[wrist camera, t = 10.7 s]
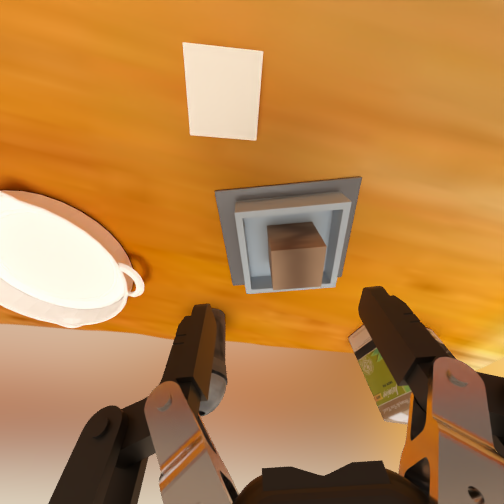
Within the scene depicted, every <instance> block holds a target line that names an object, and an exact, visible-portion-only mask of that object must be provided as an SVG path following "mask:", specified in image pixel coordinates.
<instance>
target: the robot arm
mask: <svg viewBox="0 0 504 504" xmlns="http://www.w3.org/2000/svg"><path fill="white" fill-rule="evenodd" d="M358 311H359V315H360V318H361V320H362V322H363V324H364V326H365V327H366V329H367V331H368V333H369V335H370V336H371V338H372V340H373V342H374V344H375V345H376V347H377V349H378V351H379V353H380V354H381V356H382V358H383V360H384V362H385V364H386V365H387V367H388V369H389V371H390V373H391V374H392V376H393V378H394V380H395V382H396V383H397V385H398V386H407V385H408V386H409V388H410V390H411V391H412V393H411V396H410V406H409V416H408V427H407V436H406V442H405V446H404V449H403V451H402V455H401V459H400V465H399V474H397V473H395V472H393V471H391V470H388V469H385V467H384V464H383V462H382V461H367V462H352V463H350V464H348V465H346V466H344V467H342V468H340V469H338V470H336V471H334V472H332V473H330V474H328V475H325V476H321V475H317V474H314V473H311V472H307V471H304V470H300V469H297V468H294V467H276V468H262V475H261V476H259V477H257V478H255V479H254V480H253V481H251V482H250V483H249V484H248V485H247V486H246V487H245V488H244V489H243V490H242V492H241V493H240V494H239V493H238V491H237V489H236V487H235V484H234V482H233V480H232V478H231V476H230V474H229V472H228V470H227V468H226V466H225V465H224V463H223V461H222V460H221V458H220V456H219V454H218V452H217V450H216V448H215V446H214V444H213V442H212V440H211V438H210V436H209V433H208V431H207V430H206V427H205V425H204V423H203V421H202V419H201V417H200V415H199V408H200V401H208V395H209V387H210V380H211V372H212V364H213V357H214V349H215V341H216V333H217V325H216V320H215V317H214V314H213V312H212V309H211V306H210V304H199V305H194V307H193V311H192V315H191V316H185V317H184V319H183V320H182V321H181V323H180V324H179V326H178V329H177V332H176V337H175V339H174V342H173V346H172V349H171V352H170V355H169V358H168V361H167V365H166V368H165V371H164V374H163V378H162V380H161V382H160V384H159V385H158V386H157V387H156V388H155V389H154V390H153V391H152V392H151V393H150V395H149V396H148V397H146V398H145V399H143V400H141V401H139V402H136V403H134V404H132V405H130V406H128V407H125V408H123V409H120V408H118V407H117V406H107V407H105V408H103V409H101V410H99V411H98V412H97V413H96V414H94V415H93V416H92V417H91V419H90V420H89V421H88V422H87V424H86V425H85V427H84V429H83V431H82V432H81V435H80V437H79V439H78V441H77V443H76V446H75V448H74V450H73V452H72V454H71V456H70V458H69V460H68V463H67V465H66V467H65V469H64V471H63V473H62V475H61V478H60V480H59V482H58V484H57V486H56V489H55V490H54V493H53V495H52V497H51V499H50V501H49V504H137V503H138V498H139V494H140V490H141V485H142V482H143V477H144V473H145V469H146V465H147V461H148V457H149V456H150V455H152V454H154V453H156V455H157V459H158V462H159V465H160V470H161V476H160V478H159V486H160V492H161V496H162V500H163V503H164V504H504V378H503V377H498V376H493V375H488V374H484V373H479V372H476V371H474V370H473V369H472V368H471V367H470V366H468V365H467V364H465V363H463V362H461V361H459V360H457V359H454V358H451V357H450V356H449V355H448V354H447V353H446V352H445V350H444V349H443V348H442V347H441V346H440V344H439V343H438V342H437V341H436V339H435V338H434V337H433V336H432V335H431V333H430V332H429V331H428V330H427V329H426V327H425V326H424V325H423V324H422V323H421V322H420V320H419V319H418V318H417V317H416V315H415V314H413V312H412V311H411V309H410V308H409V307H408V306H407V305H406V303H404V302H403V301H402V300H400V299H399V298H397V297H396V296H394V295H393V296H389V294H388V293H387V292H386V290H385V289H384V288H383V287H381V286H375V287H365V288H364V289H363V291H362V295H361V299H360V303H359V307H358ZM496 451H497V452H496Z"/></svg>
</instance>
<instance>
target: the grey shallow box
mask: <svg viewBox="0 0 504 504" xmlns="http://www.w3.org/2000/svg"><path fill="white" fill-rule="evenodd" d="M361 180H362V177H351V178H341V179H331V180H320V181H310V182H300V183H289V184H279V185H269V186H258V187H248V188H238V189H227V190H217V191H215V196H216V201H217V206H218V211H219V216H220V222H221V227H222V232H223V237H224V242H225V247H226V252H227V257H228V262H229V267H230V273H231V278H232V283H233V285H245V287H246V293H247V294H254V293H267V292H279V291H292V290H305V289H317V288H330V287H335V286H336V281H337V277H341V276H342V271H343V266H344V262H345V257H346V252H347V247H348V242H349V237H350V233H351V228H352V223H353V218H354V213H355V209H356V204H357V199H358V194H359V189H360V185H361ZM303 222H313V224H314V226H315V227H316V229H317V231H318V232H319V234H320V236H321V238H322V239H323V241H324V243H325V244H326V246H327V248H326V255H325V262H324V269H323V277H322V284H321V287H308V288H296V289H283V290H273V286H272V279H271V272H270V265H269V254H268V236H267V226H270V225H281V224H292V223H303Z"/></svg>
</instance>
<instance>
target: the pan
mask: <svg viewBox="0 0 504 504" xmlns="http://www.w3.org/2000/svg"><path fill="white" fill-rule="evenodd" d="M133 281H134V282H135V284H136V290H135V291H133V292H131V290H132V286H133ZM143 291H144V283H143V280H142V278H141V277H140V275H139V274H138V273H137V272H136V271H135V270H134V269H133V268H132V266H131V263H130V260H129V258H128V256H127V254H126V253H125V251H124V249H123V248H122V246H121V245H120V243H119V242H118V241H117V240H116V239H115V238H114V237H113V236H112V235H111V233H110V232H108V231H107V230H106V229H105V228H104V227H103V226H101V225H100V224H99V223H98V222H96V221H95V220H93V219H92V218H90V217H89V216H87V215H86V214H84V213H83V212H81V211H79V210H77V209H75V208H73V207H71V206H69V205H67V204H65V203H63V202H61V201H58V200H55V199H52V198H49V197H46V196H43V195H39V194H34V193H29V192H24V191H7V190H3V191H0V305H1V306H3V307H5V308H7V309H10V310H12V311H15V312H17V313H20V314H22V315H25V316H28V317H31V318H34V319H38V320H41V321H46V322H51V323H55V324H58V325H61V326H64V327H68V328H76V327H80V326H82V325H90V324H96V323H100V322H103V321H106V320H108V319H110V318H112V317H114V316H116V315H117V314H118V313H119V312H120V311H122V309H123V307H124V306H125V304H126V302H127V298H128V296H132V297H136V296H139V295H141V294H142V293H143Z"/></svg>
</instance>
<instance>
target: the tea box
mask: <svg viewBox="0 0 504 504" xmlns="http://www.w3.org/2000/svg"><path fill="white" fill-rule="evenodd" d="M426 329H427V330H428V331H429V332H430V333H431V335H432V336H433V337H434V338H435V339H436V341H437V342H438V343H439V344H440V346H441V347H442V348H443V349H444V350H445V352H446V353H447V354H448V355H449V356H450V357H451V358H454V359H456V358H455V357H454V356H453V355H452V353H451V352H450V351H449V350H448V349H447V348H446V346H445V345H444V344H443V343H442V341H441V340H440V339H439V338H438V336H437V335H436V334H435V333H434V332H433V331H432V330H430V329H428V328H426ZM348 338H349V342H350V344H351V346H352V349H353V351H354V353H355V355H356V358H357V360H358V362H359V365H360V367H361V369H362V371H363V374H364V376H365V378H366V381H367V383H368V385H369V387H370V390H371V392H372V394H373V396H374V399H375V401H376V404H377V406H378V408H379V410H380V412H381V415H382V417H383V419H384V421H387V422H393V423H401V424H408V416H409V406H410V396H411V393H412V391H411V390H410V388H409V386H408V385H407V386H398V385H397V383H396V382H395V380H394V378H393V376H392V374H391V373H390V371H389V369H388V367H387V365H386V364H385V362H384V360H383V358H382V356H381V354H380V353H379V351H378V349H377V347H376V345H375V344H374V342H373V340H372V338H371V336H370V335H369V333H368V331H367V329H366V327H365V326H364V325H363V326H362V327H360V328H359V329H358V330H357V331H356V332H354V333H353V334H352V335H351V336H350V337H348Z"/></svg>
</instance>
